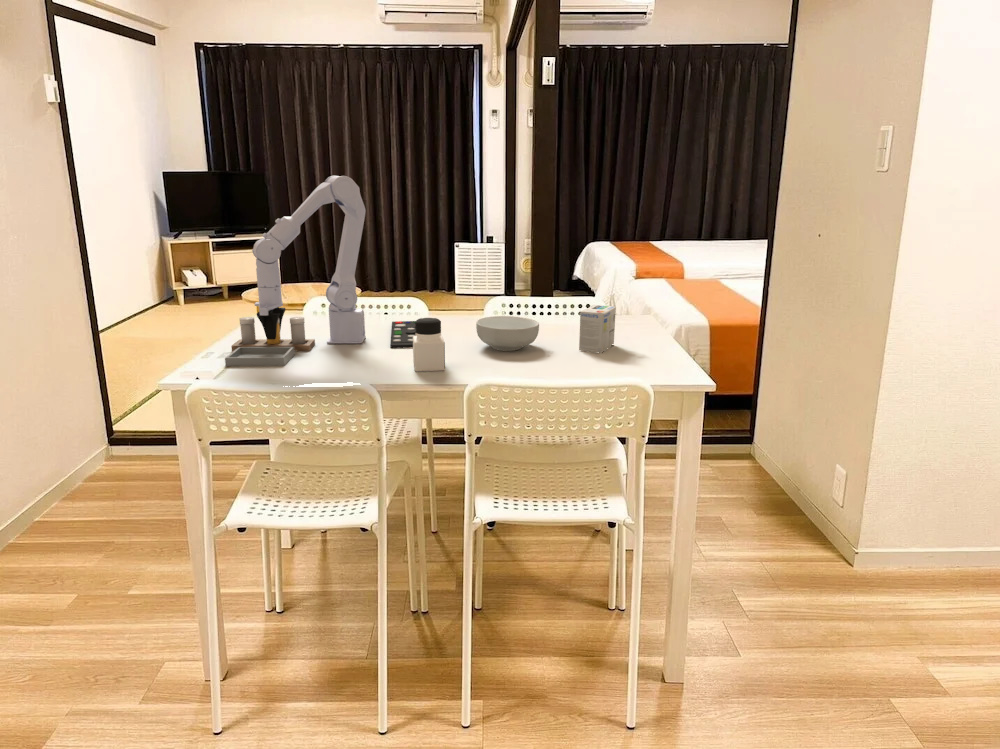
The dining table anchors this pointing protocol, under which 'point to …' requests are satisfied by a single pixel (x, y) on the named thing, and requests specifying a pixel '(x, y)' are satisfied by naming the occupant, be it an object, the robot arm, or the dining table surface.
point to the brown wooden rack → (284, 343)
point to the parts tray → (260, 356)
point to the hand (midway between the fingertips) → (273, 337)
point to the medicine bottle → (428, 345)
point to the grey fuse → (297, 330)
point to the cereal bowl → (507, 332)
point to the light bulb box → (597, 328)
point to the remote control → (402, 334)
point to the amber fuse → (277, 340)
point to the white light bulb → (248, 330)
